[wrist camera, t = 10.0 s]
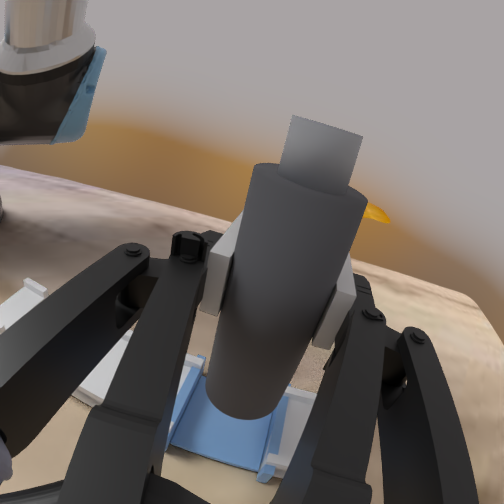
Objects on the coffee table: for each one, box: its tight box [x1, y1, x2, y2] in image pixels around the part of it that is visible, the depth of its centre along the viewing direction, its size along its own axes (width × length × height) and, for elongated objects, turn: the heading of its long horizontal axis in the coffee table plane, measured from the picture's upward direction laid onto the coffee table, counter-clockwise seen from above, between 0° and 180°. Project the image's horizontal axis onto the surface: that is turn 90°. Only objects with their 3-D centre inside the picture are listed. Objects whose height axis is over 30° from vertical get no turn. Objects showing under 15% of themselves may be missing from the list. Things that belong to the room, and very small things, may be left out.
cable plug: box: [205, 115, 368, 420], centre depth 12 cm, size 4×4×13 cm
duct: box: [0, 277, 317, 483], centre depth 18 cm, size 25×7×2 cm, turn 77°
